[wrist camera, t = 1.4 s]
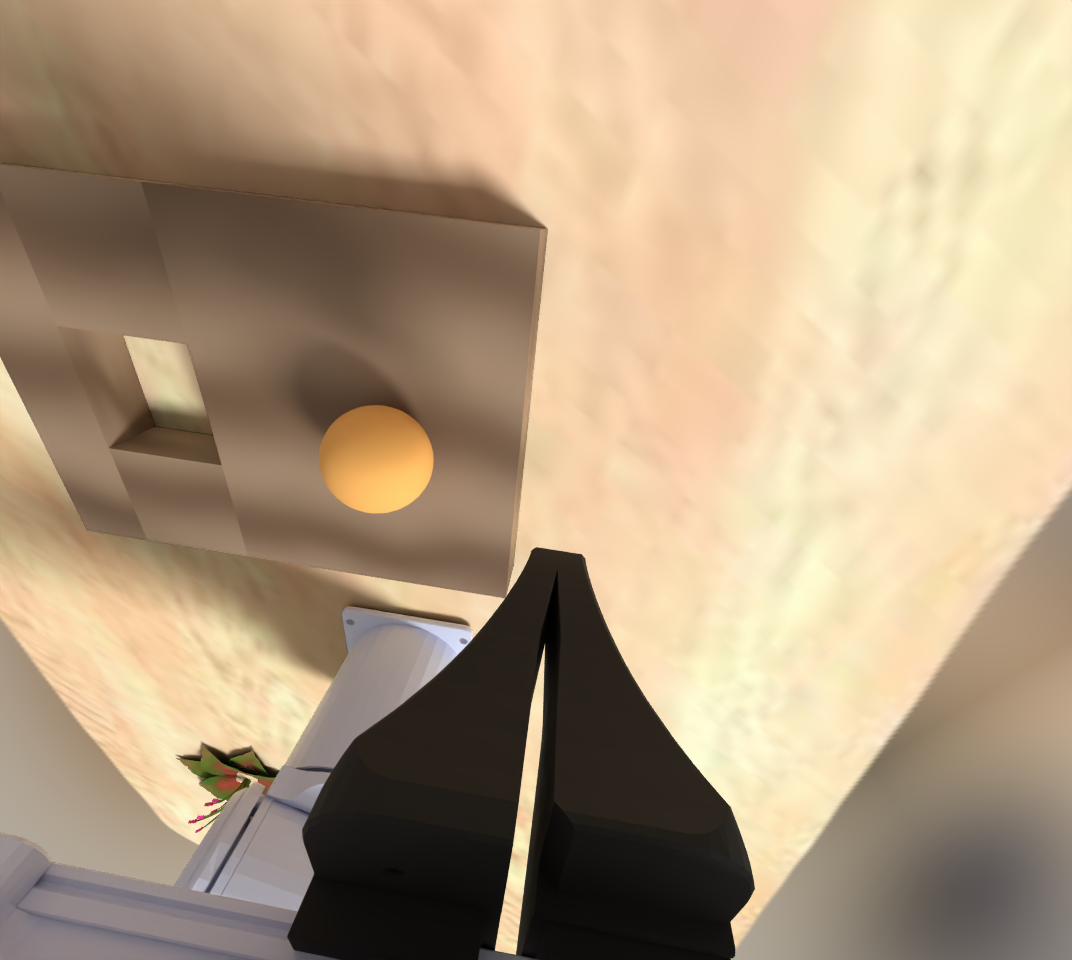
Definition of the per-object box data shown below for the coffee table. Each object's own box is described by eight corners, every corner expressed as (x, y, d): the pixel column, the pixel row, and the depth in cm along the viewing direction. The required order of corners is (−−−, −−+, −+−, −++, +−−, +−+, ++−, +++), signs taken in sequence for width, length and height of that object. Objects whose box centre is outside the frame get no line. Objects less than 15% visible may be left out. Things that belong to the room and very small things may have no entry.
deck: (513, 565, 24) (505, 598, 22) (130, 504, 26) (87, 530, 23) (547, 228, 16) (540, 229, 14) (-16, 160, 17) (-103, 152, 15)
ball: (446, 486, 19) (414, 543, 16) (356, 472, 20) (305, 526, 16) (446, 397, 17) (409, 441, 14) (346, 383, 18) (284, 423, 14)
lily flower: (339, 806, 42) (312, 866, 38) (241, 811, 45) (207, 868, 41) (261, 729, 37) (221, 790, 33) (157, 741, 40) (109, 798, 36)
